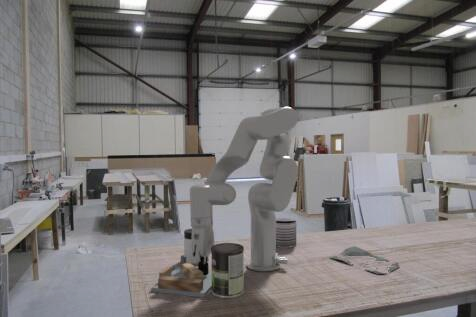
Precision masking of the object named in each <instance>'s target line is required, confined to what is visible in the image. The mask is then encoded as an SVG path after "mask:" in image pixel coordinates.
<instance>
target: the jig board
mask: <svg viewBox="0 0 476 317" xmlns="http://www.w3.org/2000/svg"><path fill="white" fill-rule="evenodd" d="M161 276H170V277H180V278H188V277H187V276H186V275H185V274H183V273H182V271H181V266H177V267H176V268H175V269H174V270H172V267H171V266H166V267H165V268H163V270H161V271H159V273H158V279H159V278H160V277H161ZM150 290H151V292H155V293H162V294H163V293H164V294H172V295H180V296H190V297H197V298H205V297H206V296H207V295H208V294H209V293H210V292H211V291H212V269H209V273H208V274H207V275H206V276H205V275H203V290H202V291H201V292H200V293H196V292H187V291H178V290H169V289H160V288H158V282H156V283H154V285H152V286H151V287H150Z"/></svg>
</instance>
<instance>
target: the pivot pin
mask: <svg viewBox="0 0 476 317" xmlns="http://www.w3.org/2000/svg"><path fill="white" fill-rule="evenodd" d="M183 263H186V255H184V254H183V255H180V267H181V271H182V266H181V264H183Z"/></svg>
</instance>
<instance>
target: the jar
mask: <svg viewBox="0 0 476 317" xmlns="http://www.w3.org/2000/svg"><path fill="white" fill-rule="evenodd" d="M191 242H192V228H188V229H184V230H183V249H184V251H183V255H186V263H188V262H189V263H190V264H192V265H195V264H198V263H197V262H195V257H193V256H192V247H191Z"/></svg>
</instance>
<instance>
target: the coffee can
mask: <svg viewBox="0 0 476 317" xmlns="http://www.w3.org/2000/svg"><path fill="white" fill-rule="evenodd" d="M244 250H245V247H244V246H243V244H240V243H234V242H233V243H232V242H222V243H217V244H215V245H214V246H212V247H211V253H210V255H211V260H210V261H211V270H212V290H211V291H210V292H211V294H212V295H213V296H214V297H216V298H221V299H233V298H237V297H240V296H242V295H243V294H244V292H245V291H244Z"/></svg>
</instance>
